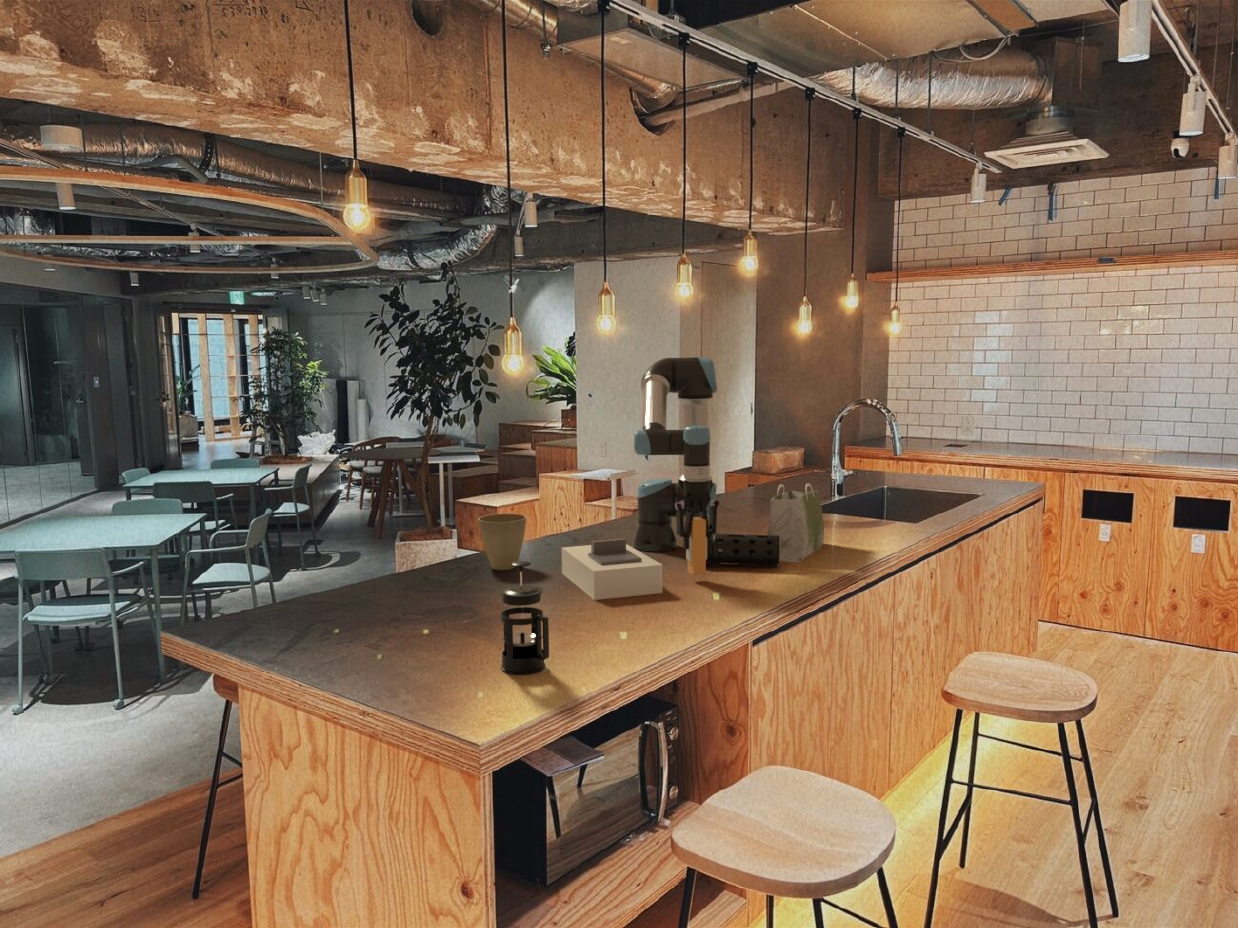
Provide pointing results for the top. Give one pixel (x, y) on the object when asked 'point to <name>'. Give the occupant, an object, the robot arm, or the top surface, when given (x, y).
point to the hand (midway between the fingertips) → (696, 558)
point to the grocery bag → (797, 523)
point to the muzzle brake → (744, 550)
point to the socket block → (611, 574)
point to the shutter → (611, 552)
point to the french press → (522, 647)
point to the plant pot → (502, 538)
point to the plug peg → (698, 547)
